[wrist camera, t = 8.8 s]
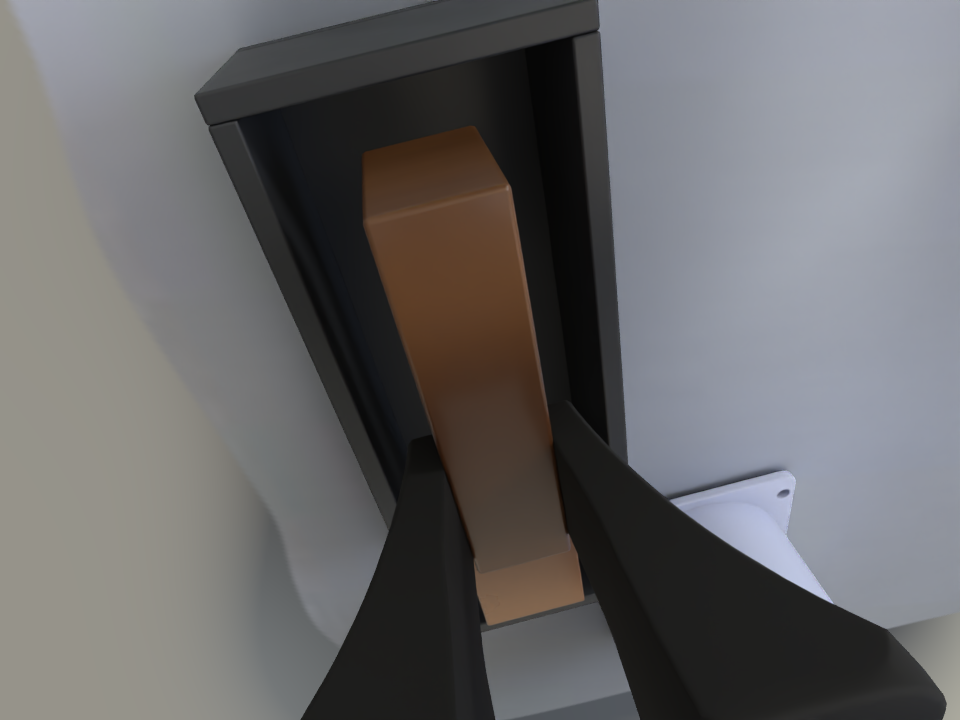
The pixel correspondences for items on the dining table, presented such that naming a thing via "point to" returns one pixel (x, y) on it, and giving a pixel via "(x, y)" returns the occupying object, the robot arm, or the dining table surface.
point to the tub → (407, 116)
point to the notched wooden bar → (474, 359)
